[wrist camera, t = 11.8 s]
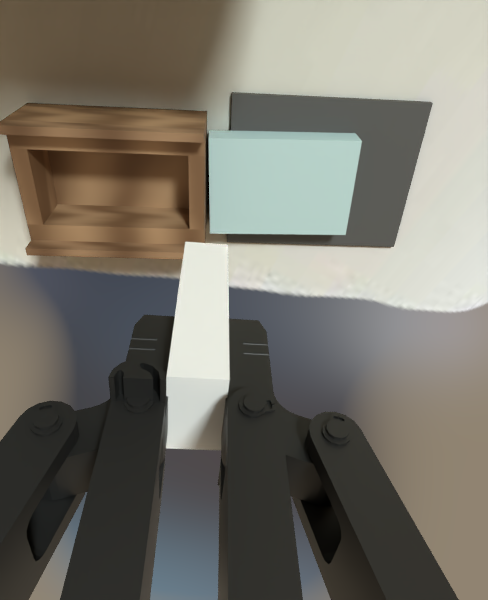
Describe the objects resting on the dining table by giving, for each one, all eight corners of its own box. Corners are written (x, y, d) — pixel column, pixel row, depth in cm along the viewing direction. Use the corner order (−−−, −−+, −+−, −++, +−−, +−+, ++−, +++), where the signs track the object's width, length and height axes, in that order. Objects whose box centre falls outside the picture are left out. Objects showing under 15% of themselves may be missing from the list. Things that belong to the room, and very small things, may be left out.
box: (51, 219, 42) (27, 255, 37) (27, 103, 36) (-6, 125, 31) (206, 224, 43) (203, 259, 38) (206, 111, 37) (204, 134, 32)
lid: (210, 222, 42) (209, 233, 41) (209, 130, 38) (208, 138, 36) (340, 223, 43) (345, 235, 41) (355, 133, 38) (361, 141, 36)
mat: (226, 239, 44) (227, 241, 44) (232, 92, 36) (232, 93, 36) (392, 244, 45) (393, 246, 45) (430, 101, 37) (432, 103, 37)
